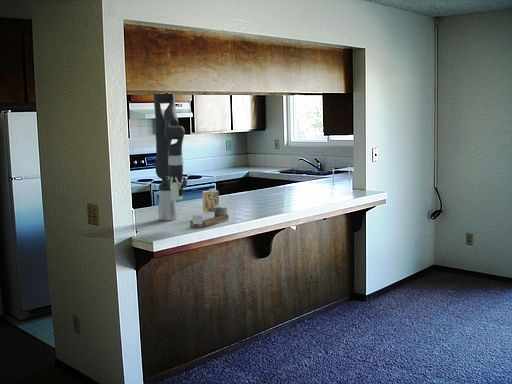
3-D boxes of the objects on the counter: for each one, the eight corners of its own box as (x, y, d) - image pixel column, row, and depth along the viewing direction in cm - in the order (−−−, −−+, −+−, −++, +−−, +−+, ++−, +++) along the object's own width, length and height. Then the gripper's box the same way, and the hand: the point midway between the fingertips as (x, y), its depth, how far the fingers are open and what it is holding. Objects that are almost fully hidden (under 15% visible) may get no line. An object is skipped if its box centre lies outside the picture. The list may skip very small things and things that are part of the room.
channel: (190, 226, 328) (189, 213, 327) (214, 218, 349) (213, 206, 348) (205, 227, 323) (204, 214, 322) (228, 219, 344) (228, 207, 343)
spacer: (171, 199, 323) (170, 182, 322) (176, 198, 327) (175, 181, 326) (178, 199, 321) (177, 183, 320) (183, 198, 325) (182, 182, 324)
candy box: (216, 215, 358) (215, 189, 356) (219, 216, 355) (218, 190, 353) (202, 217, 354) (201, 191, 352) (206, 218, 350) (205, 192, 348)
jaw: (192, 223, 327) (192, 214, 326) (205, 219, 337) (204, 211, 337) (202, 224, 324) (202, 215, 323) (214, 220, 334) (214, 212, 334)
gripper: (160, 164, 321) (161, 196, 324) (182, 164, 315) (183, 197, 317) (169, 162, 328) (170, 194, 330) (190, 163, 321) (192, 195, 323)
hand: (176, 195), depth 324 cm, fingers closed on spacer, 4 cm apart
